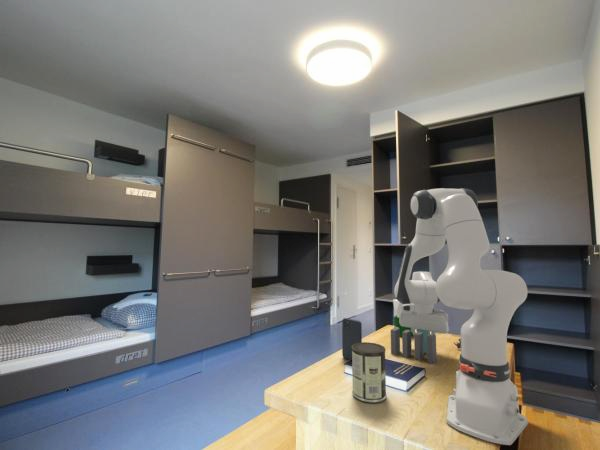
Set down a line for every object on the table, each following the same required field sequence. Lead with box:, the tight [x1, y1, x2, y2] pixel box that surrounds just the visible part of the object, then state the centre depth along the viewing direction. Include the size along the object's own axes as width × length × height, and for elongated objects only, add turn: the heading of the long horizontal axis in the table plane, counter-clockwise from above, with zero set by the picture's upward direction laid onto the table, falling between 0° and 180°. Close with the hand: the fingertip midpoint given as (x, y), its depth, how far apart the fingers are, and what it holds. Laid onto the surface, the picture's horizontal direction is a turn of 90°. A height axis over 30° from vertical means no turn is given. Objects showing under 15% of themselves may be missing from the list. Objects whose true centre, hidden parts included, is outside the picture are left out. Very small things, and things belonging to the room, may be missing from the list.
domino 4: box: [413, 331, 425, 362], centre depth 121 cm, size 2×5×10 cm, turn 140°
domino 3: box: [416, 329, 431, 354], centre depth 129 cm, size 2×5×10 cm, turn 50°
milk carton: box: [392, 298, 414, 338], centre depth 154 cm, size 9×9×20 cm
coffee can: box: [351, 341, 387, 403], centre depth 91 cm, size 10×10×14 cm
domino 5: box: [426, 333, 437, 365], centre depth 118 cm, size 2×5×10 cm, turn 140°
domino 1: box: [390, 327, 401, 356], centre depth 127 cm, size 2×5×10 cm, turn 140°
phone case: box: [341, 317, 363, 361], centre depth 119 cm, size 9×2×16 cm, turn 46°
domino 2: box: [401, 330, 413, 359], centre depth 124 cm, size 2×5×10 cm, turn 140°
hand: (423, 340), depth 129 cm, fingers closed on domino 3, 5 cm apart
